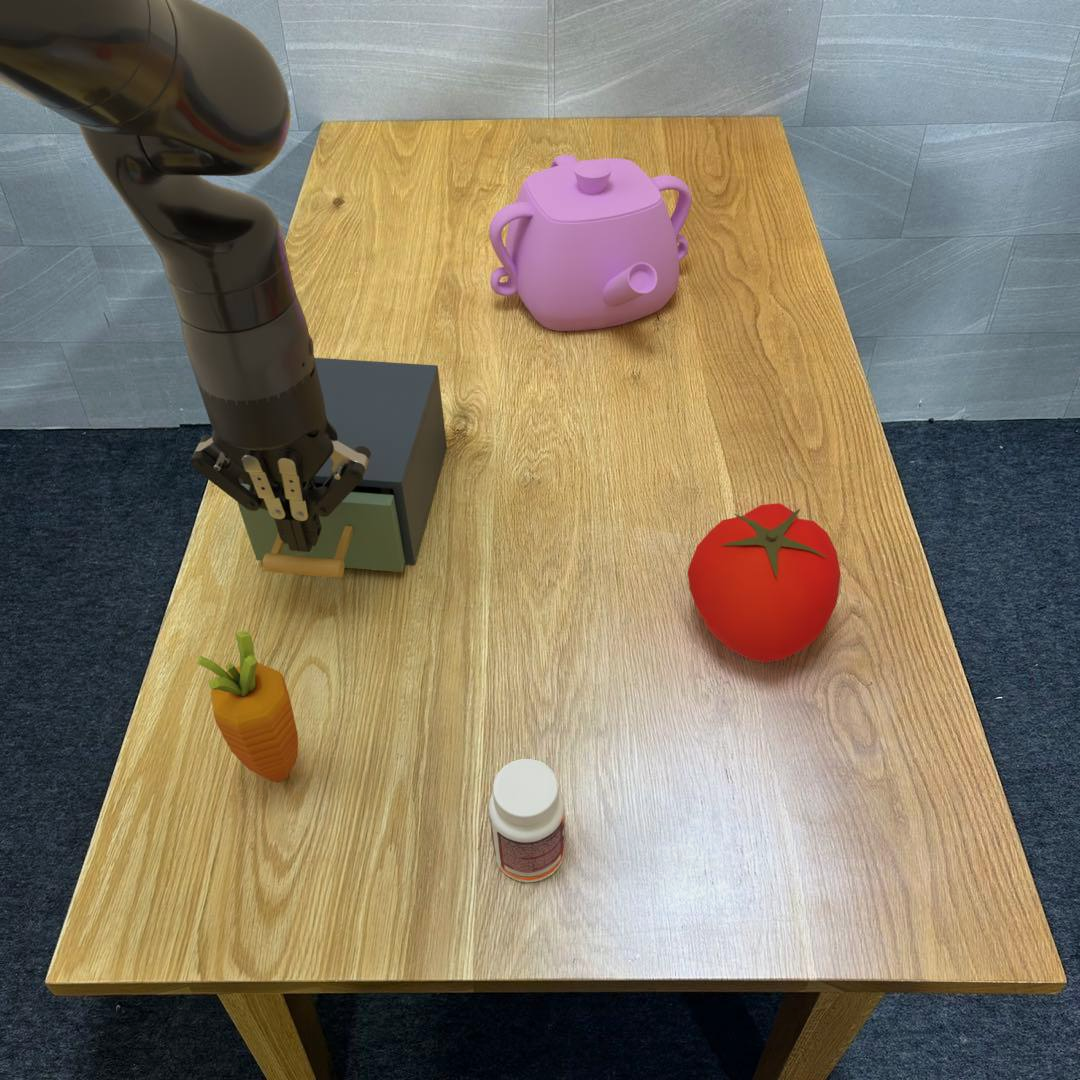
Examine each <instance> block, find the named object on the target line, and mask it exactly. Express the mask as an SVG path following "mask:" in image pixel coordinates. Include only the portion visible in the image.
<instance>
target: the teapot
mask: <svg viewBox="0 0 1080 1080" xmlns="http://www.w3.org/2000/svg"><path fill="white" fill-rule="evenodd" d="M667 190H668V191H669V190H671V191H676V192H677V193H678V197H677V201H676V204H675V207H674V210H673V211H672V214H671V215H670V214H669V211H668V208H667V207H668V206H667V205H666V202H665V200H664V198H663V195H662V193H661V192H663V191H667ZM692 200H693V199H692V192H691V189H690V187H689V185H688V184H686V182H684V181H683V180H682V179H680V178H679V177H677V176H674V175H670V174H661V175H657V176H653V177H651V178H650V177H649V176H648V174H646V173H645V171H644V170H643V169H642V168H641V167H640V166H638V164H637V163H635V162H634V161H632V160H630V159H626V158H616V157H615V158H600V159H599V158H597V159H596V158H595V159H585V160H580V161H579V160H578V159H577V157H576V156H574V155H572V154H561V155H559V156H556V157H554V159H552V161H551V163H550V167H548V168H545V169H542V170H539V171H536V172H534V173H532V174H530V175H529V176H528V177H526V178H525V179H524V181H523V183H522V185H521V186H520V190H519V192H518V195H517V197H516V200H515V202H512V203H510V204H507V205H506V206H505V205H504V206H503V207H501V209H500V210H498V211H497V212H496V213H495V214H494V216H493V217H492V218H491V221H490V222H489V228H488V236H489V240H490V244H491V247H492V249H493V251H494V253H495V255H496V257H497V258H498V260H499V262H500V264H501V265H502V266H501V267H497V268H495V269H494V270H493V271H492V272H491V274H490V278H489V279H490V280H489V284H490V287H491V290H492V291H493V292H494V293H495V294H496V295H499V296H502V297H511V296H514V295H516V294H517V295H518V297H519V298H520V300H521V302H522V303H523V304H524V306H525V307H526V309H527V311H528V312H529V313H530V314H531V316H533V318H534V320H536V322H537V323H538V324H539V325H541V326H542V327H544V328H546V329H548V330H552V331H557V332H579V331H590V330H598V329H606V328H611V327H616V326H620V325H625V324H627V323H628V324H629V323H630V322H635V321H637V320H640V319H642V318H646V317H647V316H650V315H652V314H654V313H656V312H659V311H660V310H661V309H663V308H664V307H665V306H666V305H667V303H668V302H669V301H670V300H671V298H672V296H673V295H674V294H675V292H676V291H677V288H678V285H679V283H680V262H681V261H682V260H683V259H685V258H686V257H687V255H688V254H689V248H690V247H689V246H690V245H689V241H688V238H687V237H686V236H685V235H684V234H681V231H682V229H683V227H684V225H685V224H686V221H687V219H688V217H689V213H690V211H691V207H692ZM507 225H508V226H507ZM506 226H507V231H506V239H505V240H506V241H505V244H504V240H503V237H502V236H503V235H502V232H503V230H504V229H505V227H506ZM503 277H508V279H507V280H506V281H504V282H501V281H500V280H501V279H502V278H503Z"/></svg>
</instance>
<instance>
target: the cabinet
mask: <svg viewBox="0 0 1080 1080" xmlns="http://www.w3.org/2000/svg"><path fill="white" fill-rule="evenodd" d="M314 358H315V363H316V367H317V372H318V376H319V381H320V385H321V390H322V394H323V399H324V404H325V412H326V417H327V420H328V421H329V423H330V424H331V425H332V426H333V427H334V428H335V430H336V432H337V435H338V440H337V441H339V442H341V443H342V444H344V445H346V446H347V447H349V448H351V449H352V450H354V449H355V448H356V447H357V446H364V447H366V448H368V449H369V450H370V452H371V456H370V459H369V462H368V465H367V468H366V471H365V473H364V476H363V479H362V481H361V482H360V483H359V484H358V485H357V486H364V487H378V488H391V489H393V492H394V498H395V503H396V509H397V515H398V521H399V527H400V532H401V538H402V546H403V552H404V558H405V564H404V565H413V566H415V565H416V563H417V559H418V556H419V552H420V548H421V545H422V541H423V537H424V534H425V530H426V526H427V522H428V519H429V515H430V512H431V508H432V505H433V501H434V497H435V493H436V490H437V487H438V482H439V479H440V475H441V471H442V468H443V464H444V461H445V457H446V453H447V449H448V445H447V435H446V428H445V427H446V425H445V418H444V408H443V399H442V391H441V383H440V374H439V365H437V364H422V363H421V364H420V363H405V362H391V361H389V362H387V361H375V360H374V361H373V360H357V359H341V358H327V357H326V358H325V357H314ZM332 465H333V461H332V459H331V458H329V459H328V460H327V461H326V462H325V464H324V465H323V466H322V468H321V469H320V470H319V471H318V473H317V474H316V475H315V483H324V482H325V481H326V480H327V479H328V478H329V477H330V476H331V475H332V473H333V471H332ZM239 482H240V484H247V483H245V482H244V481H243V480H242V479H240V478H239Z"/></svg>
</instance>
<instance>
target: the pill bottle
mask: <svg viewBox="0 0 1080 1080" xmlns="http://www.w3.org/2000/svg"><path fill="white" fill-rule="evenodd" d="M565 807H566V806H565V798H564V796H563V793H562V791H561V789H560V787H559V782H558V779H557V776H556V774H555V772H554V771H553V770H552V769H551V767H550V766H548V765H547V764H546V763H544V762H542V761H540V760H538V759H534V758H518V759H515V760H513V761H510V762H508V763H506V764H505V765H504V766H502V767H501V769H500V770H498V772H497V774H496V775H495V777H494V781H493V783H492V793H491V795H490V798H489V800H488V808H487V809H488V811H487V812H488V818H489V825H490V831H491V840H492V841H491V842H492V847H493V849H492V850H493V855H494V859H495V862H496V864H497V866H498V867H499V869H500V870H501V871H502V873H503V874H505V875H506V876H507V877H509V878H511V879H513V880H515V881H518V882H522V883H535V882H539V881H543V880H544V879H545V880H546V879H547V878H548V877H551V875H553V874H554V873H555V872H556V871H557V870H558V869H559V867H560V866H561V865H562V862H563V860H564V857H565V851H566V820H565V819H566V814H565V812H566V810H565Z"/></svg>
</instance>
